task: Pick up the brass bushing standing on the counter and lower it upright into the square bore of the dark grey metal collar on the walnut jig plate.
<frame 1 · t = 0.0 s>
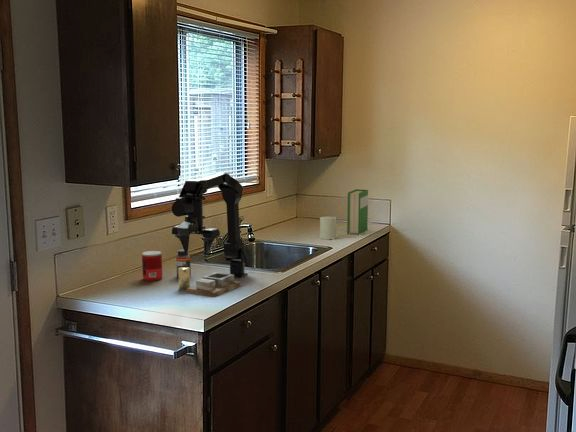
hand: (196, 253, 240), 15 cm above the worktop, tool pointing down, fingers open, 9 cm apart
canned food: (152, 279, 262), on the worktop
jig: (214, 288, 246), on the worktop
supplement bottle: (183, 277, 265), on the worktop
can: (328, 238, 350), on the worktop
bushing: (184, 288, 246), on the worktop
hardback book: (357, 232, 369), on the worktop
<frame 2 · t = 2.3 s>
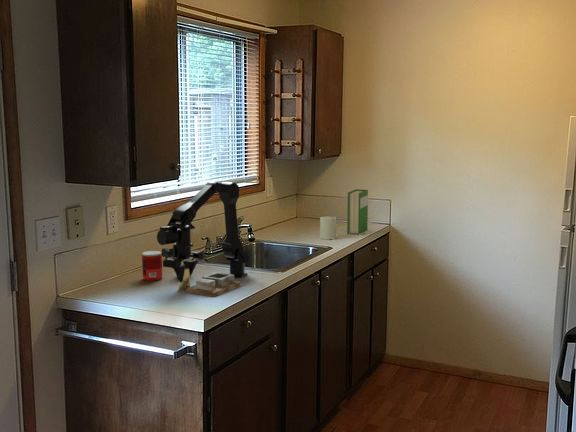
hand: (184, 280, 246), 3 cm above the worktop, tool pointing down, fingers closed on bushing, 4 cm apart
bushing: (184, 288, 246), on the worktop, touching gripper
everything else where it was.
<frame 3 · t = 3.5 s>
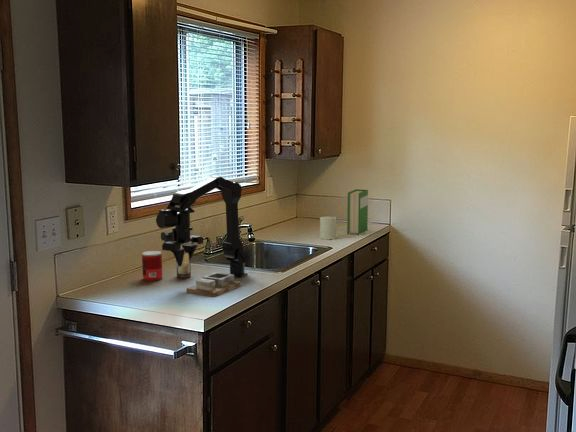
hand: (183, 264, 245), 9 cm above the worktop, tool pointing down, fingers closed on bushing, 4 cm apart
bushing: (183, 272, 245), point 6 cm above the worktop, touching gripper
everything else where it was.
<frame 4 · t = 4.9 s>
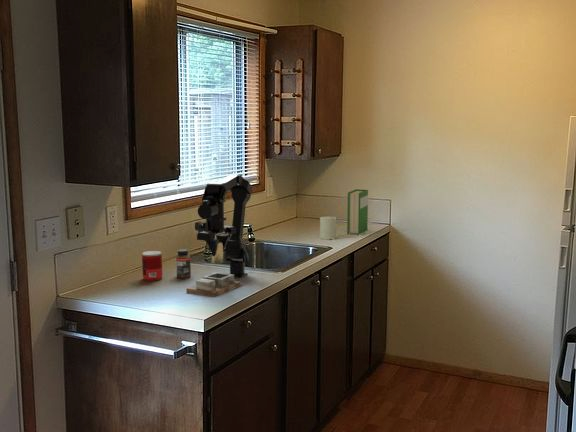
hand: (217, 254, 247), 13 cm above the worktop, tool pointing down, fingers closed on bushing, 4 cm apart
bushing: (217, 262, 247), point 10 cm above the worktop, touching gripper
everything else where it was.
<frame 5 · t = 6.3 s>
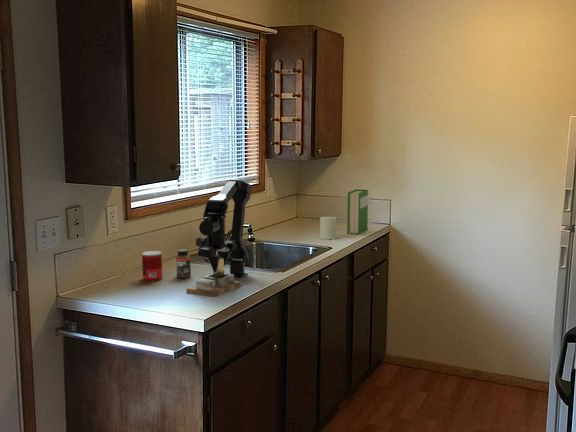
hand: (218, 270, 247), 7 cm above the worktop, tool pointing down, fingers closed on bushing, 4 cm apart
bushing: (218, 278, 248), point 4 cm above the worktop, touching gripper
everything else where it was.
when the fingers open (5 cm above the worktop, at t = 7.4 s): bushing stays where it is, resting on jig.
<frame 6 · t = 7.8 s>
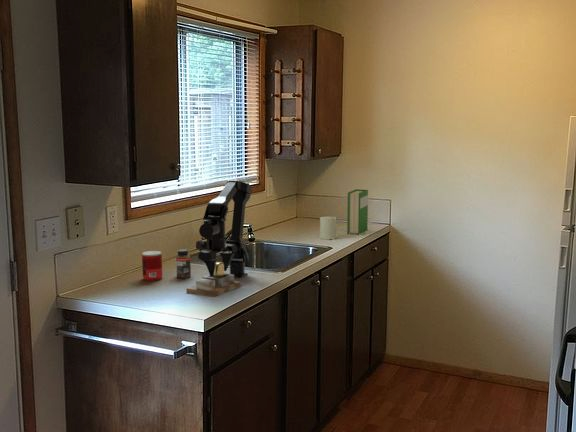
hand: (218, 273, 248), 5 cm above the worktop, tool pointing down, fingers open, 9 cm apart
bushing: (218, 283, 248), point 2 cm above the worktop, touching jig
everything else where it was.
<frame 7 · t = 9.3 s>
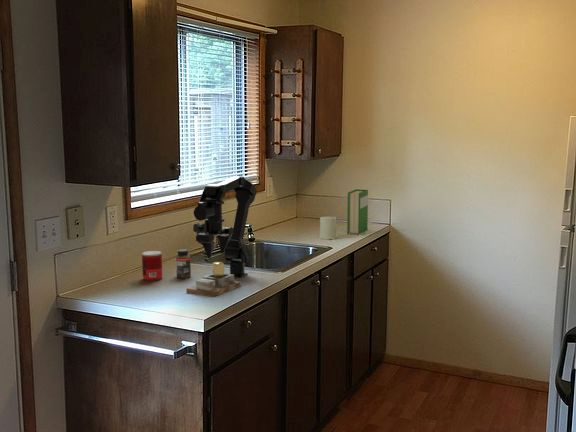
hand: (215, 255, 250), 12 cm above the worktop, tool pointing down, fingers open, 9 cm apart
nothing on the worktop moved.
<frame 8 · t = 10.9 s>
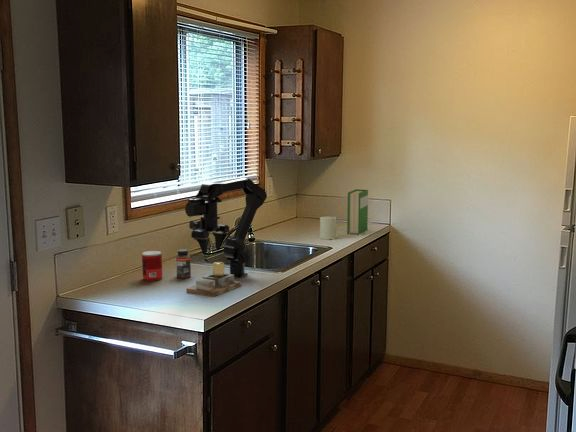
hand: (211, 252, 255), 12 cm above the worktop, tool pointing down, fingers open, 9 cm apart
nothing on the worktop moved.
at the end: bushing 0.1 cm from the target spot on the jig, point 1.5 cm above the jig's base; bushing tilted 1°; the gripper is holding nothing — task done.
